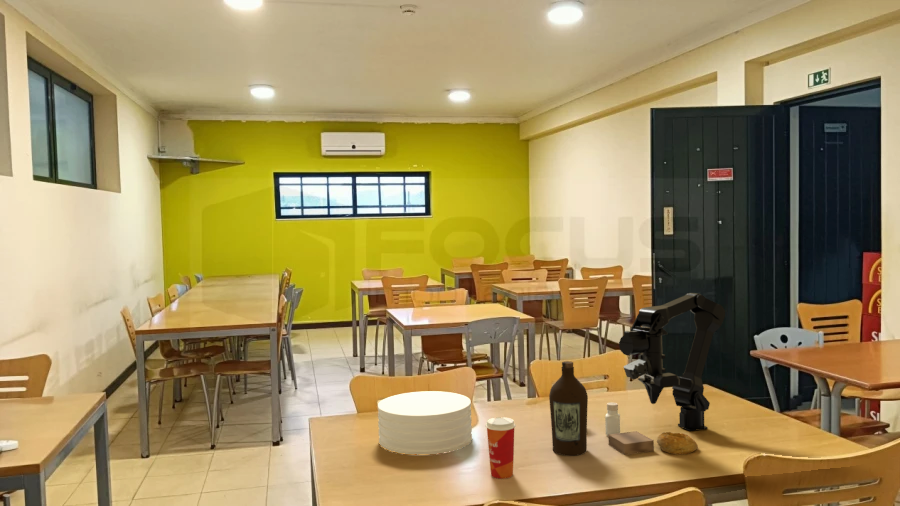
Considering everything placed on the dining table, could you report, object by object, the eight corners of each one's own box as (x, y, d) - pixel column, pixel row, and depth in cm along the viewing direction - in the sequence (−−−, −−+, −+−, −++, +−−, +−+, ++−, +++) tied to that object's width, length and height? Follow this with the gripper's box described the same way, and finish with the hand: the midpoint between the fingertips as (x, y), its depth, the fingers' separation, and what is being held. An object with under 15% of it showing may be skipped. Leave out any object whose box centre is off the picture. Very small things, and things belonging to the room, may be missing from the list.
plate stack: (491, 437, 204) (489, 399, 203) (425, 463, 183) (424, 421, 183) (425, 421, 223) (424, 386, 222) (359, 442, 202) (358, 405, 202)
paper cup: (485, 470, 176) (483, 417, 175) (514, 468, 176) (512, 415, 176) (489, 481, 168) (487, 426, 167) (519, 479, 169) (518, 424, 168)
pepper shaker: (620, 433, 203) (619, 402, 202) (619, 437, 199) (618, 405, 199) (606, 432, 204) (606, 401, 204) (605, 436, 200) (604, 405, 200)
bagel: (703, 455, 183) (703, 437, 182) (663, 456, 183) (662, 439, 183) (690, 443, 193) (690, 427, 192) (652, 444, 193) (652, 427, 192)
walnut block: (636, 441, 195) (636, 431, 195) (653, 451, 187) (653, 440, 186) (608, 444, 193) (608, 434, 193) (624, 454, 184) (624, 444, 184)
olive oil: (553, 443, 196) (551, 358, 195) (590, 445, 193) (588, 359, 192) (547, 455, 186) (545, 365, 185) (586, 458, 182) (584, 366, 182)
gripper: (611, 347, 204) (612, 398, 205) (644, 359, 186) (646, 414, 187) (644, 345, 207) (645, 395, 208) (680, 355, 189) (681, 410, 190)
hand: (653, 403), depth 198 cm, fingers closed
